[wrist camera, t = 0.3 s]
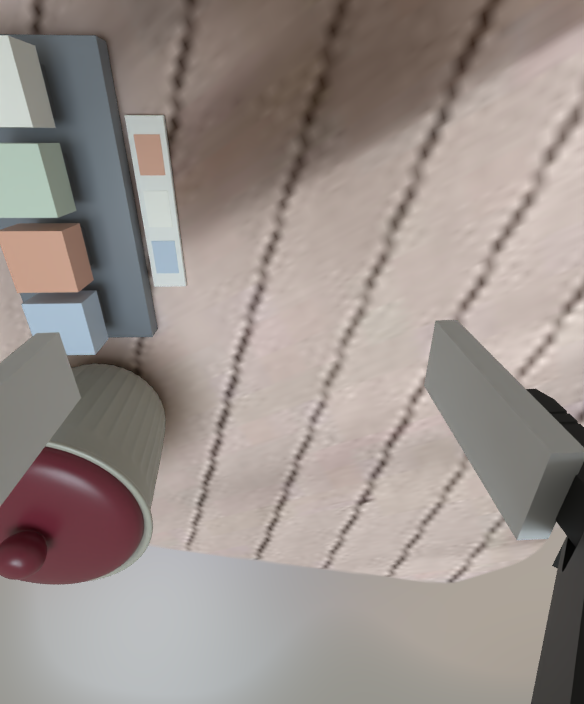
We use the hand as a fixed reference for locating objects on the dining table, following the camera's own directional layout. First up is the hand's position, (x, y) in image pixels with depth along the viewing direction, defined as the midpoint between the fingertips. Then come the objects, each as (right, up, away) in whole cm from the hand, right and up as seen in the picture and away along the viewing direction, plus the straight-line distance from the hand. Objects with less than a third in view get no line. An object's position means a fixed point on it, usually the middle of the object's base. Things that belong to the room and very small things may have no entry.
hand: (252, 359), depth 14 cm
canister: (-20, -6, +34) cm, 40 cm away
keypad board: (-19, +14, +23) cm, 33 cm away
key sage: (-19, +14, +17) cm, 30 cm away
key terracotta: (-19, +9, +20) cm, 29 cm away
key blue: (-19, +4, +23) cm, 30 cm away
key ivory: (-19, +20, +14) cm, 31 cm away
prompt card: (-11, +14, +23) cm, 29 cm away
